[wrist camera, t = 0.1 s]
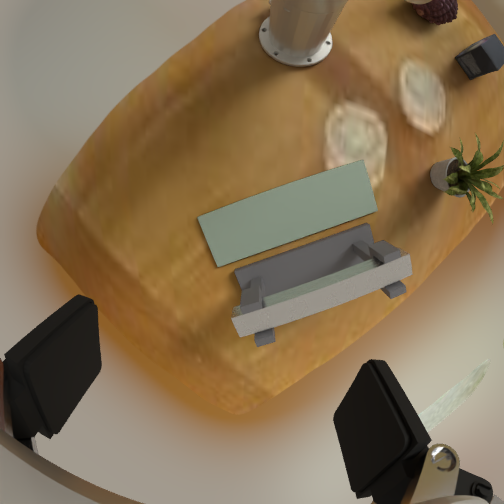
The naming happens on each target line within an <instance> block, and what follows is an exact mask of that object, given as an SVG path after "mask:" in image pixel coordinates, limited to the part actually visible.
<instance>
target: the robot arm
mask: <svg viewBox="0 0 504 504" xmlns="http://www.w3.org/2000/svg"><path fill="white" fill-rule="evenodd" d="M347 1H348V0H270V1H269V3H270V5H271V7H270V16H269V17H268V18H266V19H265V20H264V22H263V23H262V25H261V27H260V31H259V40H260V44H261V46H262V48H263V49H264V50H265V52H266V53H267V54H268V55H269V56H271V57H272V58H273V59H275V60H277V61H278V62H281V63H283V64H286V65H290V66H296V67H306V66H312V65H315V64H317V63H319V62H321V61H323V60H324V59H325V58H326V57H327V55H328V54H329V53H330V50H331V48H332V36H331V33H330V31H331V29H332V27H333V26H334V24H335V22H336V20H337V18H338V17H339V15H340V13H341V11H342V9H343V8H344V6H345V4H346V3H347ZM405 1H407V2H410V3H414V4H425V3H428V2H430V1H432V0H405ZM263 31H265V32H263ZM327 44H328V45H327ZM276 55H277V56H276ZM308 61H309V62H308ZM4 355H5V358H6V359H5V360H4V361H3V362H2V360H1V358H0V504H143V503H140V502H137V501H134V500H131V499H128V498H126V497H123V496H120V495H118V494H115V493H112V492H110V491H108V490H105V489H103V488H100V487H98V486H96V485H94V484H92V483H89V482H87V481H85V480H83V479H81V478H79V477H77V476H75V475H73V474H71V473H69V472H67V471H66V470H64V469H62V468H60V467H58V466H57V465H55V464H53V463H51V462H49V461H48V460H46V459H44V458H43V457H41V456H40V455H38V450H37V446H36V441H35V435H36V434H37V432H40V433H41V434H42V435H44V436H46V437H47V438H49V439H51V437H52V436H53V434H58V433H59V432H60V430H61V429H62V427H63V426H64V424H65V422H66V421H67V419H68V418H69V417H70V415H71V413H72V412H73V410H74V409H75V407H76V406H77V404H78V403H79V401H80V400H81V399H82V397H83V396H84V394H85V393H86V391H87V389H88V388H89V387H90V385H91V384H92V382H93V381H94V380H95V378H96V377H97V375H98V374H99V372H100V370H101V366H102V363H101V353H100V343H99V328H98V308H97V305H95V304H94V301H93V300H92V299H90V298H88V297H85V296H82V295H76V296H75V297H74V298H72V299H71V300H70V301H68V302H67V303H66V304H64V305H63V306H62V307H61V308H59V309H58V310H57V311H56V312H54V313H53V314H52V315H50V316H49V317H48V318H47V319H46V320H44V321H43V322H42V323H41V324H39V325H38V326H37V327H36V328H34V329H33V330H32V331H31V332H30V333H28V334H27V335H26V336H25V337H24V338H23V339H21V340H20V341H19V342H18V343H17V344H16V345H14V346H13V347H12V348H11V349H10V350H9V351H8V352H7V353H5V354H4ZM333 421H334V425H335V429H336V432H337V436H338V440H339V443H340V447H341V451H342V454H343V459H344V462H345V466H346V470H347V474H348V478H349V482H350V486H351V490H352V491H353V492H355V493H356V497H357V499H359V498H364V497H370V496H371V495H372V497H373V501H372V503H371V504H504V501H502V500H501V499H500V498H498V497H497V496H496V495H494V496H493V490H492V486H491V484H490V483H489V482H488V481H487V480H485V479H483V478H481V477H478V476H476V475H473V474H471V473H469V472H466V471H464V470H462V469H460V468H459V466H460V460H459V457H458V455H457V453H456V451H455V450H454V449H452V448H451V447H450V446H448V445H445V444H435V445H432V447H430V448H428V447H427V445H428V444H429V443H430V442H431V438H430V436H429V435H428V433H427V431H426V429H425V427H424V425H423V424H422V422H421V420H420V418H419V416H418V415H417V413H416V411H415V410H414V408H413V406H412V404H411V403H410V401H409V399H408V397H407V396H406V394H405V392H404V391H403V389H402V387H401V386H400V384H399V382H398V381H397V379H396V377H395V376H394V374H393V372H392V371H391V369H390V368H389V366H388V364H387V363H386V362H385V361H383V360H372V359H371V360H369V361H367V363H364V364H363V365H362V367H361V369H360V371H359V372H358V374H357V376H356V378H355V380H354V381H353V383H352V385H351V387H350V388H349V390H348V392H347V393H346V395H345V397H344V399H343V400H342V402H341V403H340V405H339V407H338V408H337V410H336V411H335V413H334V418H333Z"/></svg>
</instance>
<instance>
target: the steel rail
mask: <svg viewBox="0 0 504 504" xmlns="http://www.w3.org/2000/svg"><path fill="white" fill-rule="evenodd" d="M398 249H400V248H398ZM400 252H401V258H398V259H396V260H393V261H391V262H389V263H386V264H384V263H383V262H382V261H380V260H379V259H378V258H376V257H375V258H372V259H370V260H367V261H364V262H362V263H359V264H357V265H354V266H351V267H349V268H346V269H343V270H341V271H338V272H335V273H333V274H330V275H327V276H324V277H322V278H319V279H316V280H313V281H311V282H308V283H305V284H302V285H299V286H296V287H293V288H291V289H288V290H285V291H282V292H279V293H276V294H273V295H270V296H267V297H264V298H262V309H260V310H256V311H253V312H250V313H247V314H244V315H243V314H242V312H241V309H240V305H239V306H236V307H233V310H232V316H231V319H232V322H233V324H234V326H235V328H236V330H237V332H238V334H239V336H240V337H243V336H247V335H250V334H254V333H257V332H260V331H263V330H267V329H270V328H273V327H276V326H279V325H283V324H286V323H289V322H292V321H295V320H298V319H301V318H304V317H306V316H309V315H312V314H315V313H318V312H321V311H323V310H326V309H329V308H332V307H334V306H337V305H340V304H342V303H345V302H348V301H350V300H353V299H355V298H358V297H360V296H363V295H366V294H368V293H370V292H373V291H375V290H378V289H380V288H383V287H385V286H387V285H390V284H392V283H394V282H397V281H399V280H401V279H403V278H406V277H408V276H410V275H412V267H411V260H410V254H409V253H407V252H406V251H404V250H402V249H400Z"/></svg>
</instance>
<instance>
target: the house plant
mask: <svg viewBox="0 0 504 504" xmlns="http://www.w3.org/2000/svg"><path fill="white" fill-rule="evenodd" d="M475 135H476V133H475ZM476 138H477V143H478V151H476V153H475V155H474V158H473V160H472V161H471V162H470V163H469V164H467V163H466V162H465V160H463V157H462V153H463V145H462V141H461V139H460V143H461V153H460V152H459V150H457V149H455V148H452V147H450V148H451V149H452V152H453V154H454V155H455V157H454V158H451V159H448V160H444V161H441V162H438V163H435V164H434V165H433V166H432V168H431V172H430V177H431V181H432V183H433V185H434V186H435V187H436V188H438V189H440V190H442V191H444V192H445V193H447V194H449V195H454V196H456V197H463V196H465V195H467V197H468V199H469V201H470V205H471V207H472V210H473V211H474V209H475V200H476V196H477V197H478V198H479V200H480V202H481V203H482V205H483V207H484V208H485V210H486V211H487V212H488V213H489V216H490V218H491V221H492V223H493V215H492V211H491V209H490V207H489V205H488V203H487V201H486V199H485V198H484V196H483V195H482V194H481V193H480V192H479V191H478V190H477V189H476V188H475V187H474V186H476V187H477V188H479V189H481V190H483V191H485V192H486V193H488V194H489V195H491V196H494V197H496V198H500V199H503V198H502V197H500V196H498V195H497V194H496V193H495V192H492V186H491V185H490V184H489V183H488V182H490V181H488V180H485V179H484V178H489V177H493V176H495V175H497V174H499V173H500V172H501V171H502V170H503V166H504V165H503V166H501V167H497V168H489V169H484V170H480V171H477V170H479V169H481V168H482V167H484V166H485V165H486V164H488V163H490V162H491V161H493V160H494V159H496V158H497V157H498V156H499V154H500V152H501V150H502V147H503V143H502V145H501V147H500V148H499V150H498V151H497V152H496V153H495V154H494V155H493V156H491V157H490V158H488V159H487V160H485V161H484V162H483V163H482V164H480V163H481V162H482V161H483V155H482V153H481V152H480V141H479V138H478V137H477V135H476ZM503 142H504V141H503ZM479 164H480V165H479ZM480 179H483V180H485V181H488V182H485V181H481V180H480ZM490 183H492V184H494V183H493V182H490ZM472 184H473V185H474V186H473V185H472ZM494 185H495V186H497V185H496V184H494ZM497 187H498V186H497ZM498 188H499V187H498ZM499 189H500V188H499ZM469 190H470V191H471V193H472V197H471V195H470V194H469V193H468V192H469ZM472 210H471V211H472Z"/></svg>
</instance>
